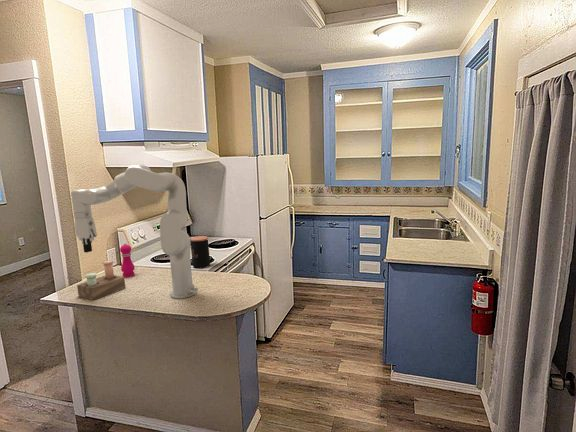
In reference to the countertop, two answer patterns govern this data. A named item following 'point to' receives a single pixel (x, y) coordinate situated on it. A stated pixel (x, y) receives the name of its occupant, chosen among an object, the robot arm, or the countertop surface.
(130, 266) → the pepper mill
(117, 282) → the socket block
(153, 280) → the countertop surface
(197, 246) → the coffee jar
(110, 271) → the peach peg
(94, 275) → the green plug
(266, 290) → the countertop surface
